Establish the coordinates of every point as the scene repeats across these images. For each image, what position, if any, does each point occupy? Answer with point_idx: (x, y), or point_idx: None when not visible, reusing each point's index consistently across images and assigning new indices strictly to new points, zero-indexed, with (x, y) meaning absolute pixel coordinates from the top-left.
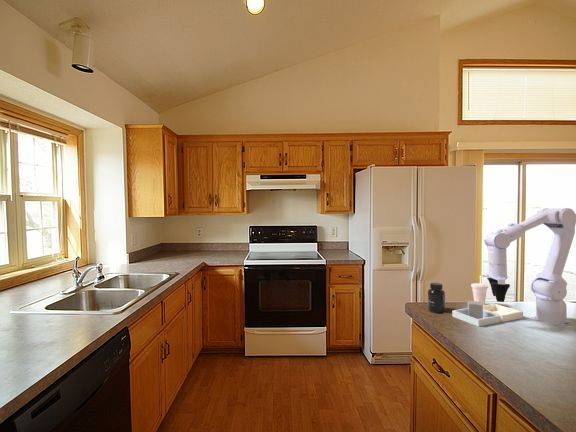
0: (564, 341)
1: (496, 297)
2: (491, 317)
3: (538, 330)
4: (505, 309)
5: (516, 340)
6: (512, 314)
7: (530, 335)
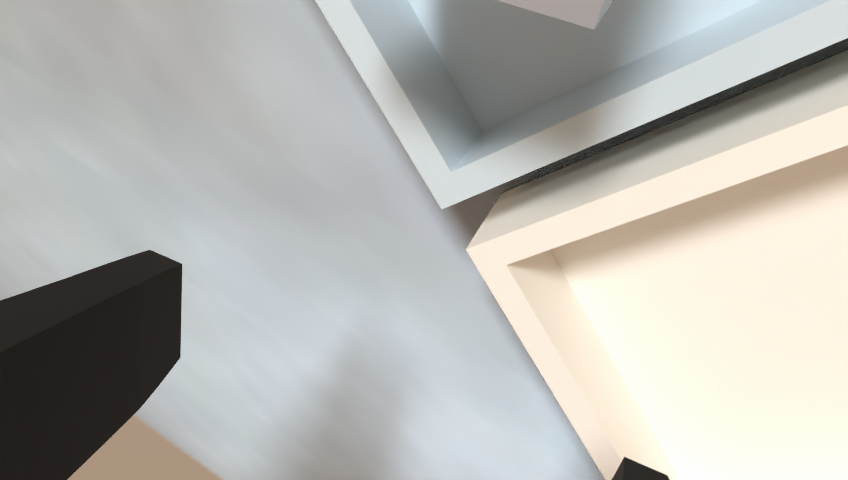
0: (162, 407)
1: (54, 282)
2: (337, 25)
3: (349, 405)
4: None
5: (18, 44)
6: (576, 420)
7: (196, 254)
